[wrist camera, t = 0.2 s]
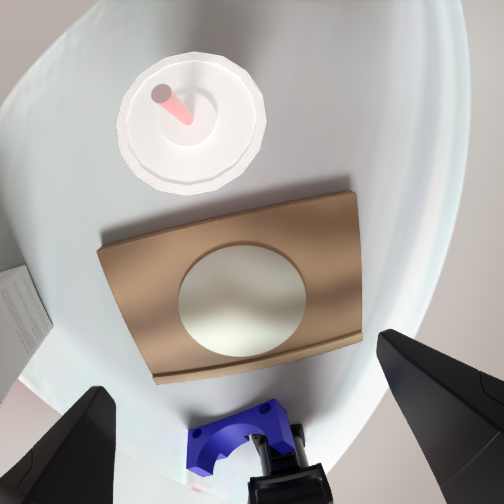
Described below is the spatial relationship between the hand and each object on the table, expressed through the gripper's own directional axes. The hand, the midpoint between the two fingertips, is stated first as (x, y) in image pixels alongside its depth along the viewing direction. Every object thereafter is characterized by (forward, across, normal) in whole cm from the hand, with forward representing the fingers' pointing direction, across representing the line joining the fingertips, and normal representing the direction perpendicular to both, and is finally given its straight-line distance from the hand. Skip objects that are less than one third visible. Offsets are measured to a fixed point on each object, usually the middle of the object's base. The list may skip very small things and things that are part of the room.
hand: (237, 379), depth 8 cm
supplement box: (+14, +23, +2) cm, 27 cm away
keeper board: (+14, 0, +6) cm, 15 cm away
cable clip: (+14, +4, +24) cm, 27 cm away
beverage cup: (+15, 0, -7) cm, 16 cm away
